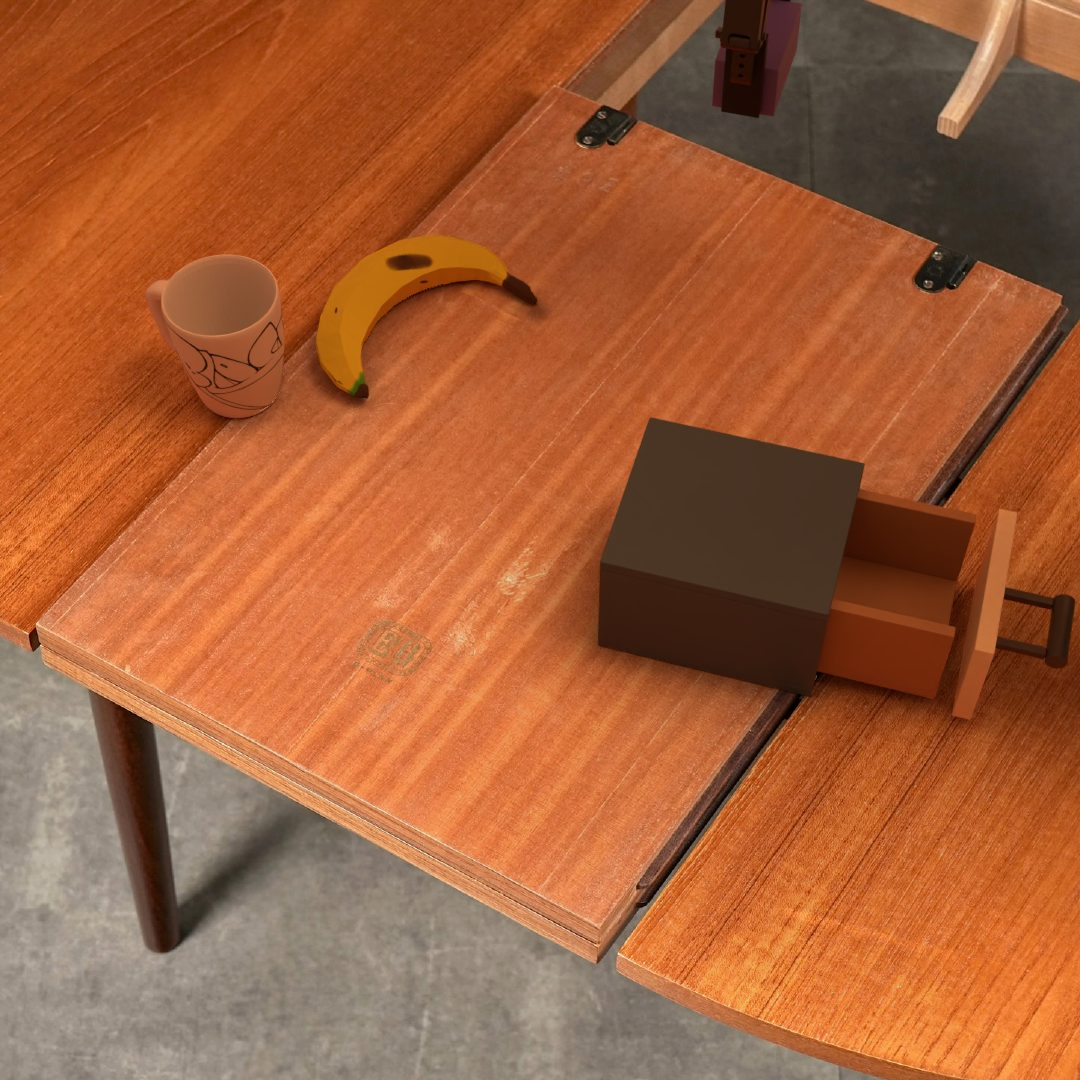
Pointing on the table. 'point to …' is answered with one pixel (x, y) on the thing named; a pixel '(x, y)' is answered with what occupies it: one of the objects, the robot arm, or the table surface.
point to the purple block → (769, 55)
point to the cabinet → (727, 555)
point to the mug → (224, 331)
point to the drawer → (926, 600)
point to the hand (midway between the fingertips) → (754, 74)
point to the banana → (397, 295)
